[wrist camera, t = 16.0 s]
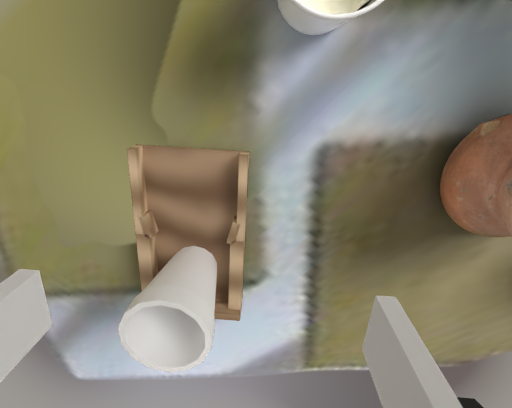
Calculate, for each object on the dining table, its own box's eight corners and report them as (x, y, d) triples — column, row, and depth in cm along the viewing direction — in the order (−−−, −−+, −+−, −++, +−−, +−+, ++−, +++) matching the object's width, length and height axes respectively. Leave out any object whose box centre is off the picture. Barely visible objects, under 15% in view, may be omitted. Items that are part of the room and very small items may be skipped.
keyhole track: (136, 144, 36) (122, 150, 33) (249, 151, 36) (247, 158, 33) (150, 295, 45) (140, 313, 41) (242, 302, 45) (239, 320, 41)
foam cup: (177, 224, 39) (136, 285, 27) (239, 253, 41) (226, 323, 28) (153, 276, 43) (107, 351, 31) (211, 302, 44) (189, 383, 32)
